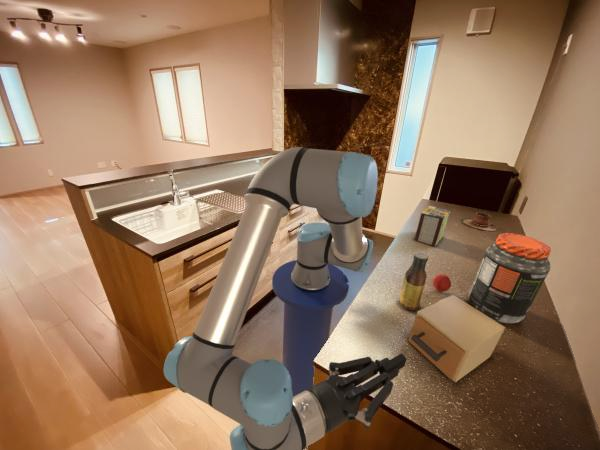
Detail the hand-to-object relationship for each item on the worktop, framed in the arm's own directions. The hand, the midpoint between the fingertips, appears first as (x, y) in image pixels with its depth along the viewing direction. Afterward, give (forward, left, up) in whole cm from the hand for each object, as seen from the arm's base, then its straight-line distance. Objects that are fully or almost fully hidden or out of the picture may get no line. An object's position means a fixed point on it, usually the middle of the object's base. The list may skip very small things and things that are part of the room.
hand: (403, 359), depth 57 cm
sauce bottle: (-17, +24, -7) cm, 31 cm away
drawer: (0, +16, -6) cm, 18 cm away
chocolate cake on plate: (-47, +126, -7) cm, 135 cm away
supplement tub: (-3, +50, -7) cm, 51 cm away
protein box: (-48, +78, -7) cm, 91 cm away
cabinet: (0, +20, -7) cm, 22 cm away
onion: (-17, +41, -7) cm, 45 cm away
